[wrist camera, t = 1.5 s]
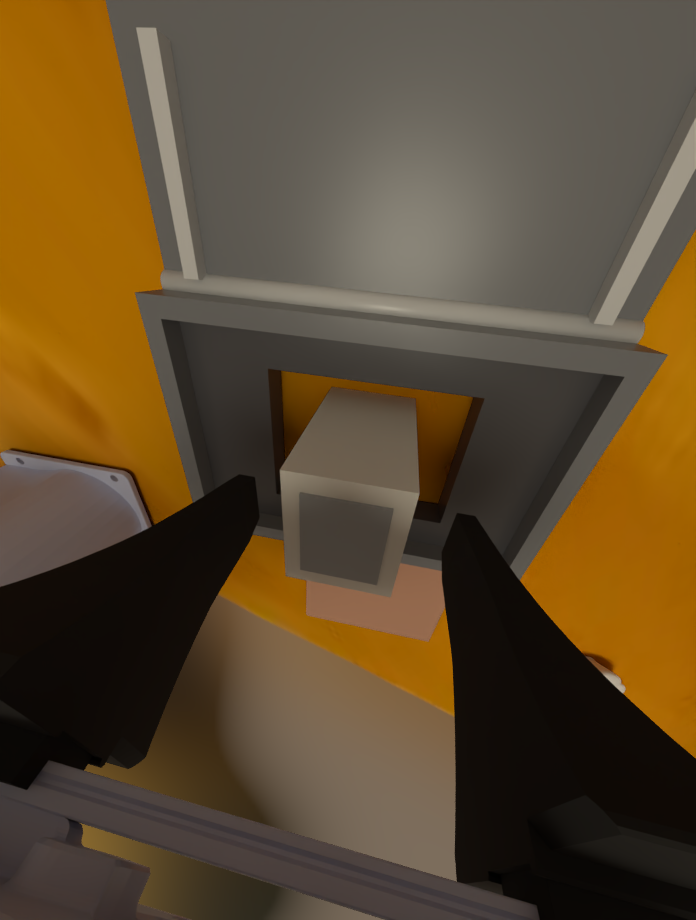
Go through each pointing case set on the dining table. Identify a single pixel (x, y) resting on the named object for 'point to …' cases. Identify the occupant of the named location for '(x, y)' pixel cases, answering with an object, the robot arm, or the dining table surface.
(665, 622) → the dining table surface
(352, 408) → the block
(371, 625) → the terracotta tile
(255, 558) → the dining table surface
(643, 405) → the dining table surface
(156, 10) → the equipment case
